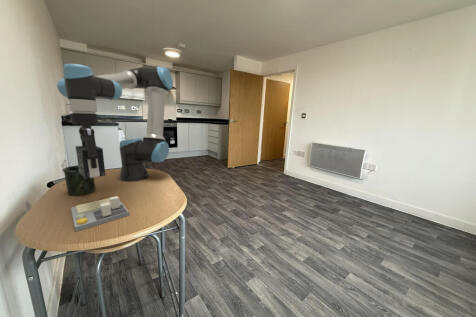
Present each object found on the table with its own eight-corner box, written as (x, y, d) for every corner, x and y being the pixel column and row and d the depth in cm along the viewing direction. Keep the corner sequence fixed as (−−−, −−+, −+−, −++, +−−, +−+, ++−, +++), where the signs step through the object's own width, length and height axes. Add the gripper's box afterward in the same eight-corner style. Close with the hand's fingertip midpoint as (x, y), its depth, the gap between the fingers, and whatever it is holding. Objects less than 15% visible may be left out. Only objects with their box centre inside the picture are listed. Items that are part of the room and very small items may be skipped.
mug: (94, 186, 96) (91, 163, 93) (99, 194, 86) (96, 169, 83) (66, 191, 88) (61, 167, 86) (68, 201, 78) (63, 174, 76)
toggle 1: (109, 211, 66) (108, 202, 65) (111, 214, 65) (110, 204, 64) (101, 214, 65) (100, 204, 64) (103, 216, 63) (101, 206, 62)
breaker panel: (117, 200, 80) (116, 194, 80) (129, 215, 68) (128, 209, 68) (71, 211, 70) (70, 205, 69) (75, 231, 58) (74, 224, 57)
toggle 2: (118, 205, 71) (117, 196, 71) (119, 207, 70) (118, 197, 69) (110, 207, 70) (109, 197, 69) (112, 209, 68) (110, 199, 67)
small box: (107, 175, 68) (103, 147, 66) (84, 179, 63) (80, 149, 61) (99, 170, 75) (95, 144, 73) (78, 173, 70) (74, 146, 68)
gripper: (67, 112, 70) (76, 168, 75) (72, 112, 54) (83, 183, 58) (92, 113, 75) (99, 165, 80) (103, 113, 59) (111, 178, 64)
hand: (92, 173), depth 69 cm, fingers closed on small box, 11 cm apart
